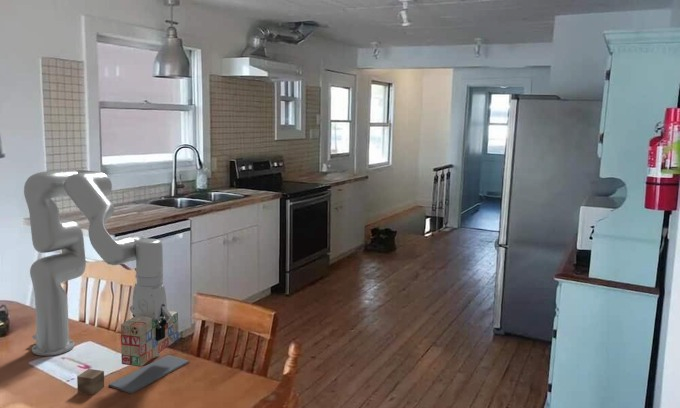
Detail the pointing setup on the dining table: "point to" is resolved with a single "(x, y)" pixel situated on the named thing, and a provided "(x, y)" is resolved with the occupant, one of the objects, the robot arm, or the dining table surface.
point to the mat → (148, 374)
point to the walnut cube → (90, 381)
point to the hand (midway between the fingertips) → (150, 336)
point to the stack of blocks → (145, 339)
